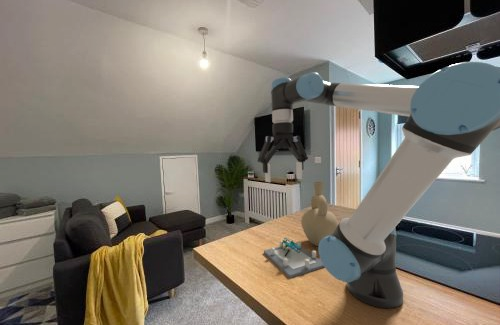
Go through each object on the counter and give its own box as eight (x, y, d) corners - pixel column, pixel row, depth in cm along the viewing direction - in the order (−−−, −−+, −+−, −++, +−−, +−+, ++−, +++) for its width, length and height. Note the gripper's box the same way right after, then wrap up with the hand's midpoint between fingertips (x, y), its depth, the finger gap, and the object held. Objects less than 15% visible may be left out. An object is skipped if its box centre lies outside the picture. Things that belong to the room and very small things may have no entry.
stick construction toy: (305, 249, 85) (291, 236, 85) (296, 264, 83) (282, 251, 83) (292, 246, 96) (279, 235, 96) (284, 259, 94) (271, 248, 94)
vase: (344, 250, 93) (343, 184, 91) (307, 252, 93) (305, 185, 91) (329, 235, 110) (328, 179, 108) (298, 237, 110) (296, 180, 108)
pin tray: (327, 266, 81) (326, 256, 80) (289, 278, 74) (289, 267, 74) (295, 245, 100) (295, 236, 100) (263, 253, 94) (263, 243, 93)
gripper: (304, 124, 84) (305, 176, 85) (247, 123, 75) (249, 182, 76) (316, 122, 78) (317, 178, 79) (255, 120, 68) (258, 184, 69)
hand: (284, 180), depth 77 cm, fingers open, 13 cm apart
